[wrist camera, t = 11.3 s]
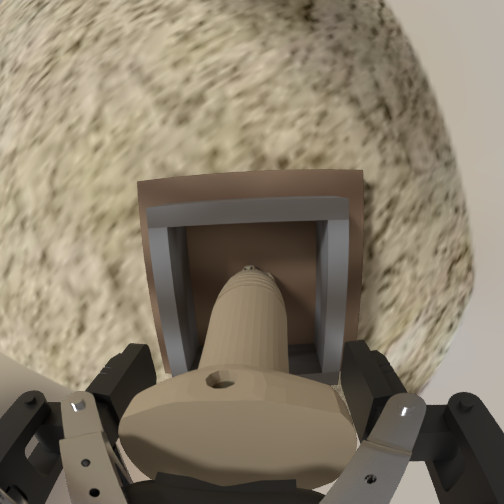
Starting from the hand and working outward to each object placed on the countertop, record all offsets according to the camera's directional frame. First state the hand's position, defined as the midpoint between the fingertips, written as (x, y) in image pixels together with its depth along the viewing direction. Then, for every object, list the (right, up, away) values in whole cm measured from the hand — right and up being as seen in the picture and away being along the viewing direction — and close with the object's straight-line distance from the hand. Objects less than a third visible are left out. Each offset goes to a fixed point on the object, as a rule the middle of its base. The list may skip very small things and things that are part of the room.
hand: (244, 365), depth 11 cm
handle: (0, +2, +10) cm, 10 cm away
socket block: (0, +2, +11) cm, 12 cm away
